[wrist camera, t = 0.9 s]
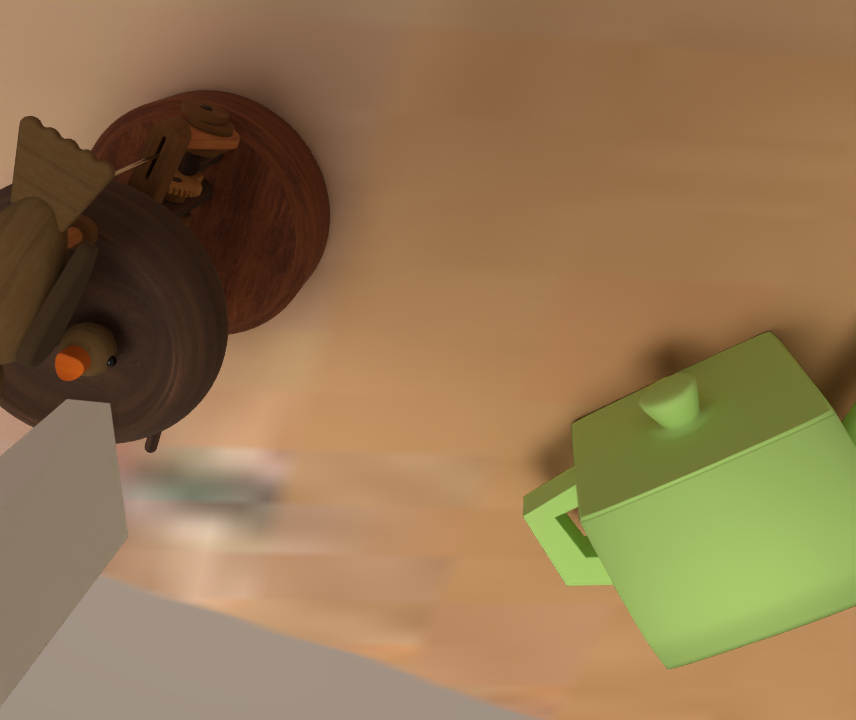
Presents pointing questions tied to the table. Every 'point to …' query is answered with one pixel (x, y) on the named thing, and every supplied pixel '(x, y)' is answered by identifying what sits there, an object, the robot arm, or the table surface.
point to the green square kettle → (711, 504)
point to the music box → (150, 255)
